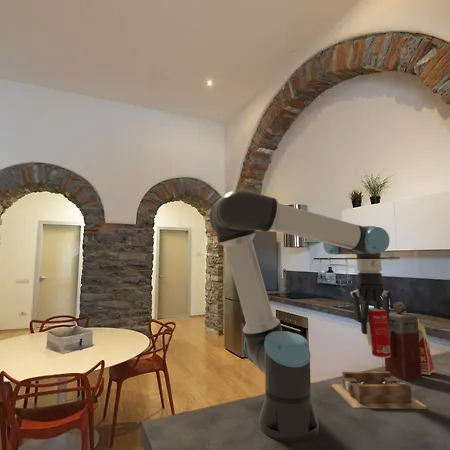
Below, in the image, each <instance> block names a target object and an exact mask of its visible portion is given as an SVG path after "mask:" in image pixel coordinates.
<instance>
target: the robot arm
mask: <svg viewBox="0 0 450 450" xmlns="http://www.w3.org/2000/svg"><path fill="white" fill-rule="evenodd" d="M208 217H209V223H210V226H211V228H212V229H213V231H214V232H215V234H216V237H217V240H218V244H219V245H220V246H222V247H224V248H225V252H226V255H227V259H228V263H229V266H230V269H231V274H232V278H233V280H234V281H233V282H234V284H235V288H236V291H237V294H238V298H239V302H240V303H239V304H240V307H241V310H242V314H243V317H244V321H245V325H243V328H242V332H243V337H244V341H243V348H244V352H245V355H246V357H247V358H248V360H249V361H250V362H251V363H252V364H253V365H254V366H255V367H257V368H258V369H259V370H260V371H261V372H262V373H263V374H264V376H265V377H264V382H265V383H264V389H265V390H264V391H265V392H264V393H265V398H264V400H263V404H262V407H261V410H260V413H259V418H258V427H259V429H260V431H261V432H262V433H263V434H265V435H266V436H268V437H270V438H272V439H274V440H278V441H281V442H286V443H306V442H310V441H313V440H314V439H316V438H317V437H318V435H319V434H320V426H319V425H320V424H319V420H318V417H317V414H316V412H315V409H314V406H313V403H312V393H311V391H312V389H311V388H312V386H311V384H312V383H311V350H310V344H309V341H308V340H307V339H306V338H305V336H303V335H301V334H298V333H295V332H291V331H284V330H283V328H282V325H281V324H282V323H281V321H280V319H279V318H277V317H275V316H274V315H273V311H272V307H271V303H270V301H269V300H270V299H269V297H268V293H267V290H266V286H265V282H264V278H263V274H262V271H261V268H260V264H259V259H258V255H257V253H256V249H255V246H254V242H253V239H254V237H255V236H256V231H259V232H264V233H269V232H270V231H276V232H280V233H284V234H287V235H291V236H296V237H299V238H303V239H307V240H311V241H315V242H320V243H322V247H323V249H324V251H325V253H327V254H329V255H335V256H337V255H356V265H357V266H356V268H357V269H356V270H357V272H358V273H357V288H356V289H355V290H353V291H350V292H349V295H350V297H351V299H352V300H351V301H352V307H353V308H352V309H353V314H354V320H355V321H356V322H358V323H360V326H361V327H360V328H361V331H360V332H361V334H363V337H364V338H363V339H364V340H363V341H364V344H366V345H367V346H371V340H370V325H369V323H368V321H369V320H368V311H369V309H370V308H369V307H370V303H371V302H372V305H373V308H374V309H375V308H376V309H381V308H383V309H385V310H386V313H387V318H388V322H389V313H390V302H391V301H390V300H391V297H392V292H391V291H387V290H385V289H384V287H383V274H382V273H381V272H382V253H384V252H386V250H388V249H389V248H388V247H389V245H390V236H389V234H388V232H387V230H386V229H384V228H383V227H380V226H374V225H363V226H362V225H360V224H355V223H352V222H347V221H345V220H342V219H341V220H340V219H337V218H334V217H329V216H326V215H322V214H319V213H315V212H312V211H308V210H305V209H301V208H298V207H293V206H290V205H288V204H287V205H286V204H283V203H279V201H278V199H277V198H275V197H271V196H267V195H264V194H261V193H257V192H254V191H249V190H243V189H237V190H231V191H229V192H227V193H226V194H224V196H223V197H221V198H219V199H217V201H216V202H214V203H213V205H212V207H211V208H210V211H209V216H208ZM359 296H360V297H361V305H360V299H359ZM381 296H382V301H381V299H380V298H381ZM381 302H382V304H381Z"/></svg>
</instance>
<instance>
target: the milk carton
mask: <svg viewBox="0 0 450 450" xmlns="http://www.w3.org/2000/svg"><path fill="white" fill-rule="evenodd" d="M418 329H419V345H420V361H421V375H429V376H430V375H431V374H432V373H434V372H435V371H436V369H435V366H434V362H433V358H432V355H431V349H430V343H429V342H430V341H429V338H428V335H427V333H426V332H427V331H426V328H425V326H424V325H423V324H422V323H420V319H419V318H418Z"/></svg>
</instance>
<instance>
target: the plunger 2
mask: <svg viewBox="0 0 450 450" xmlns="http://www.w3.org/2000/svg"><path fill="white" fill-rule="evenodd" d="M397 383H401V384H406V383H405V381H404V380H401V379H398V380H397ZM382 384H392V383H388V382H386V381H384V382H382Z"/></svg>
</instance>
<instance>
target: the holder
mask: <svg viewBox="0 0 450 450" xmlns="http://www.w3.org/2000/svg"><path fill="white" fill-rule="evenodd" d="M345 381H349V382H350V383H361V382H366V383H367V384H352V388H351V391H348V390H347V389H346V387H345ZM384 381H386V382H388V383H392V384H382V382H384ZM331 386H332V388H333V389H334V390H335V391H336V393H338V394H339V395H340V397H342V398H343V399H344V401H346V402H347V403H348V404H349V405H350V406H351V407H352V408H353V409H396V410H397V409H400V410H401V409H409V410H410V409H412V410H413V409H415V410H417V409H418V410H427V409H428V408H427V405H425V404H424V403H422V402H421V401H419V400H418V399H416V398H415V397H414V396H412V386H411V385H410V384H408V383H405V384H401V383H398V380H396V379H395V377H394V378H393V376H391V373H390V372H388V371H385V370H384V371H383V370H382V371H381V370H380V371H374V370H373V371H342V383H341V384H340V383H339V384H338V383H336V384H331Z"/></svg>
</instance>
